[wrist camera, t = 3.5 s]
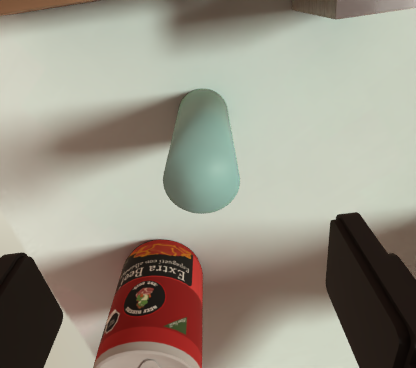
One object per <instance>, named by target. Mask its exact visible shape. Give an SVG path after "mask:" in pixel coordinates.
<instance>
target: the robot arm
mask: <svg viewBox="0 0 416 368" xmlns="http://www.w3.org/2000/svg"><path fill="white" fill-rule="evenodd" d="M326 288H327V292H328V294H329V297H330V299H331V302H332V304H333V306H334V309H335V311H336V313H337V316H338V318H339V320H340V323H341V325H342V328H343V330H344V332H345V335H346V337H347V339H348V342H349V344H350V346H351V349H352V351H353V354H354V356H355V358H356V361H357V363H358V365H359V368H416V279H415V278H414V277H413V275H412V274H411V273H410V271H409V270H408V269H407V267H406V266H405V265H404V263H403V262H402V261H401V259H400V258H399V257H398V256H397V255H395V254H393V253H392V254H388V253H387V252H386V251H385V249H384V248H383V246H382V245H381V244H380V242H379V241H378V239H377V238H376V236H375V235H374V234H373V232H372V231H371V229H370V228H369V227H368V225H367V224H366V222H365V221H364V220H363V218H362V217H361V215H360V214H359V213H357V212H356V213H348V214H339V215H337V217H336V220H332V221H331V223H330V233H329V246H328V259H327V271H326ZM62 319H63V312H62V310H61V308H60V306H59V304H58V303H57V301H56V299H55V297H54V295H53V294H52V292H51V290H50V288H49V287H48V285H47V283H46V281H45V280H44V278H43V276H42V274H41V272H40V271H39V269H38V267H37V265H36V264H35V262H34V260H33V259H32V258H31V257H28V256H27V254H25V253H15V254H7V255H3V256H2V257H1V258H0V368H44V365H45V363H46V360H47V358H48V355H49V353H50V350H51V348H52V345H53V343H54V340H55V338H56V336H57V333H58V331H59V328H60V326H61V324H62Z"/></svg>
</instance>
